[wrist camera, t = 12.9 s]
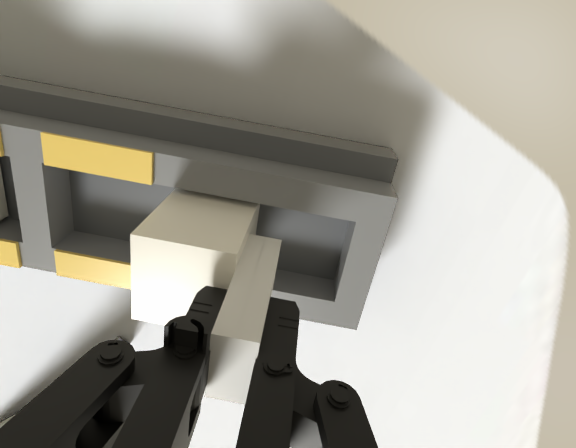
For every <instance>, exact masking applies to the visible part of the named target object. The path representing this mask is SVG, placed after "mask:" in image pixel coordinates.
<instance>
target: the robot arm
mask: <svg viewBox="0 0 576 448" xmlns="http://www.w3.org/2000/svg"><path fill="white" fill-rule="evenodd" d="M281 242H282V240H279V239H274V238H269V237H263V236H258V235H253V234H249V236H248V239H247V241H246V244H245V247H244V249H243V252H242V254H241V257H240V259H239V262H238V265H237V267H236V270H235V272H234V275H233V278H232V280H231V283H230V285H229V288H228V290H227V289H222V288H217V287H211V286H205V287H204V288H202V289H201V290H200V291H198V292H197V294H196V296H195V298H194V300H193V302H192V304H191V306H190V308H189V310H188V312H187V314H186V316H185V315H184V316H179V317H175V318H174V319H172V320H170V321H169V322H168V323H167V324H166V325H165V327H164V347H162V348H159V349H156V350H150V351H137V352H135V350H134V348H133V346H132V345H130V344H129V343H127V342H126V341H121V340H108V341H105V342H102V343H99V344H98V345H96V346H95V347H93V348H92V349H91V350H89V351H88V352H87V353H86V354H85V355H84V356H83V357H81V358H80V359H79V360H78V361H77V362H76V363H74V364H73V365H72V366H71V367H70V368H69V369H68V370H66V371H65V372H64V373H63V374H62V375H61V376H60V377H58V378H57V379H56V380H55V381H54V382H53V383H51V384H50V385H49V386H48V387H47V388H46V389H45V390H43V391H42V392H41V393H40V394H39V395H38V396H36V397H35V398H34V399H33V400H32V401H31V402H30V403H28V404H27V405H26V406H25V407H24V408H23V409H21V410H20V411H19V412H18V413H17V414H16V415H15V416H13V417H12V418H11V419H10V420H9V421H8V422H7V423H5V424H4V425H3V426H2V427H1V428H0V448H188V447H189V444H190V441H191V438H192V435H193V432H194V429H195V426H196V423H197V420H198V416H199V413H200V407H201V400H202V397H203V394H204V391H205V395H204V397H208V398H213V399H218V400H223V401H229V402H234V403H239V404H244V405H245V408H244V413H243V417H242V422H241V426H240V431H239V435H238V440H237V445H236V448H290V447H291V448H378V446H377V443H376V441H375V438H374V435H373V432H372V430H371V427H370V424H369V421H368V419H367V416H366V413H365V410H364V408H363V405H362V402H361V399H360V397H359V395H358V394H357V392H356V391H355V390H354V389H353V388H352V387H351V386H350V385H348V384H346V383H344V382H342V381H336V380H330V381H326V382H324V383H323V384H321V385H319V384H317V383H315V382H313V381H311V380H310V379H308V378H306V377H305V376H304V375H303V374H302V373H301V372H300V371H299V369H298V367H297V365H296V348H297V337H298V326H299V315H300V310H299V308H298V306H297V304H296V302H295V301H290V300H285V299H279V298H274V297H271V295H272V290H273V285H274V280H275V274H276V269H277V263H278V258H279V252H280V247H281Z"/></svg>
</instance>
